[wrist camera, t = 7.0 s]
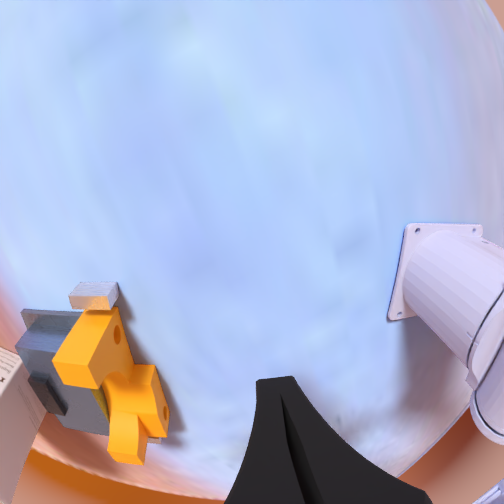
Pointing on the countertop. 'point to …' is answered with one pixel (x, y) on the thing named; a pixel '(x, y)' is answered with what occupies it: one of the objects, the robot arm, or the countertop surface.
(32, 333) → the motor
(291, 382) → the robot arm
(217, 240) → the countertop surface
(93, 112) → the countertop surface
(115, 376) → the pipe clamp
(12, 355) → the supplement box
